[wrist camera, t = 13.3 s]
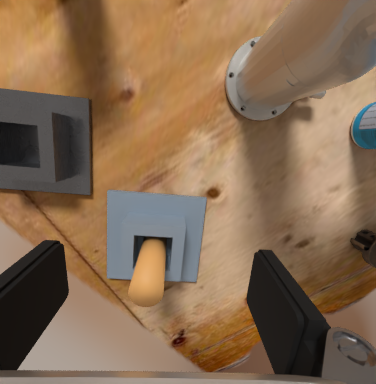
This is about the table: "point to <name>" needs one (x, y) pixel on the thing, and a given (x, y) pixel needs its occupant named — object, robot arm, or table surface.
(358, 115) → the beverage bottle
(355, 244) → the industrial component
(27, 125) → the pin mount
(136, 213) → the socket block
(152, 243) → the lock pin
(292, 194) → the table surface
